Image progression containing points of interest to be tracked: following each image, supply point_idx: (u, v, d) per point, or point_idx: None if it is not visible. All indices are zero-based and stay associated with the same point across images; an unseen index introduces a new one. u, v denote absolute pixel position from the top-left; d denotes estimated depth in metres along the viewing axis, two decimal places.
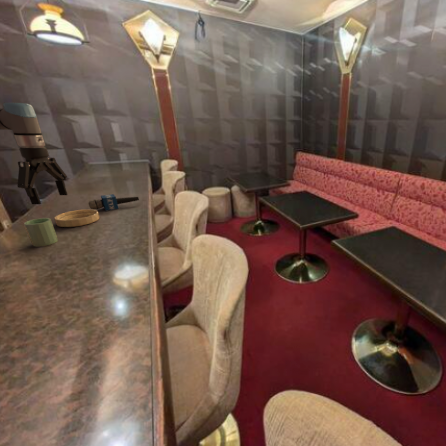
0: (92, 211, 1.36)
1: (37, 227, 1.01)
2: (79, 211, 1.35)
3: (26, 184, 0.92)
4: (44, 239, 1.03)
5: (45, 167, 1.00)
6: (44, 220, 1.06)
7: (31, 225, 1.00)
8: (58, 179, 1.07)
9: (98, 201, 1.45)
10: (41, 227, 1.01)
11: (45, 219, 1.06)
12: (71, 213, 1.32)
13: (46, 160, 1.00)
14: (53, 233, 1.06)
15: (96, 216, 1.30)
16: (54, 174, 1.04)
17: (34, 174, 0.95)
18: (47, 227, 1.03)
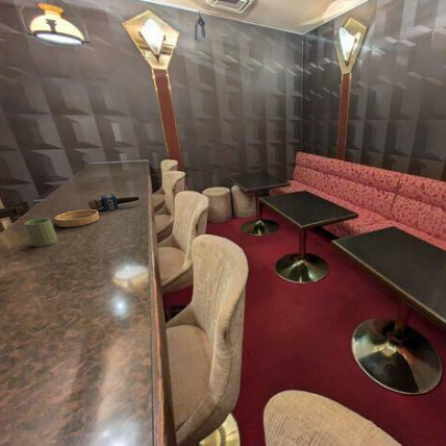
0: (92, 211, 1.36)
1: (37, 227, 1.01)
2: (79, 211, 1.35)
3: None
4: (44, 239, 1.03)
5: None
6: (44, 220, 1.06)
7: (31, 225, 1.00)
8: None
9: (98, 201, 1.45)
10: (41, 227, 1.01)
11: (45, 219, 1.06)
12: (71, 213, 1.32)
13: None
14: (53, 233, 1.06)
15: (96, 216, 1.30)
16: None
17: None
18: (47, 227, 1.03)
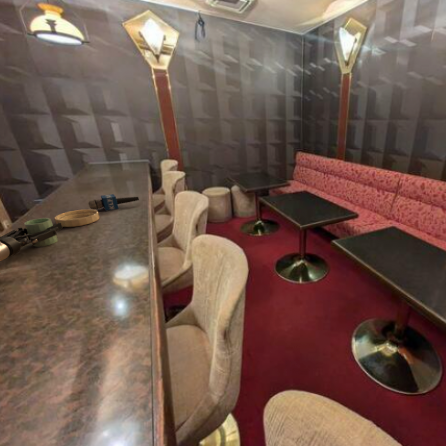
0: (92, 211, 1.36)
1: (37, 227, 1.01)
2: (79, 211, 1.35)
3: None
4: None
5: None
6: (44, 220, 1.06)
7: (31, 225, 1.00)
8: None
9: (98, 201, 1.45)
10: (41, 227, 1.01)
11: (45, 219, 1.06)
12: (71, 213, 1.32)
13: None
14: None
15: (96, 216, 1.30)
16: None
17: None
18: (47, 227, 1.03)
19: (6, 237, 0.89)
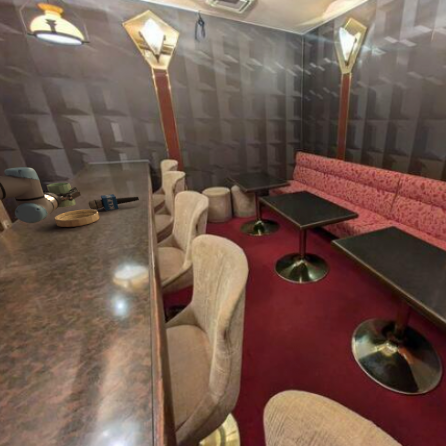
0: (92, 211, 1.36)
1: (62, 188, 1.12)
2: (79, 211, 1.35)
3: None
4: (68, 200, 1.15)
5: None
6: (61, 184, 1.17)
7: (57, 186, 1.11)
8: None
9: (98, 201, 1.45)
10: (65, 188, 1.13)
11: (62, 183, 1.17)
12: (71, 213, 1.32)
13: None
14: None
15: (96, 216, 1.30)
16: None
17: None
18: (69, 189, 1.15)
19: (49, 193, 1.02)
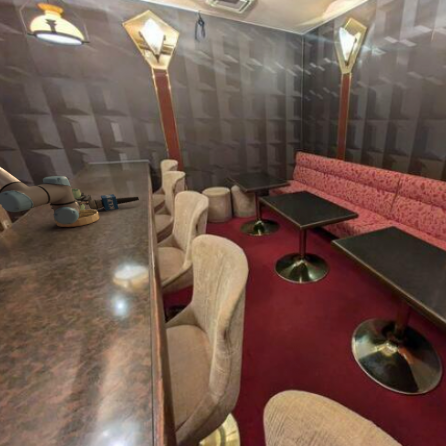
0: (92, 211, 1.36)
1: (75, 194, 1.23)
2: None
3: None
4: None
5: None
6: None
7: None
8: None
9: (98, 201, 1.45)
10: (77, 194, 1.24)
11: None
12: None
13: None
14: None
15: (96, 216, 1.30)
16: None
17: None
18: (80, 194, 1.26)
19: None
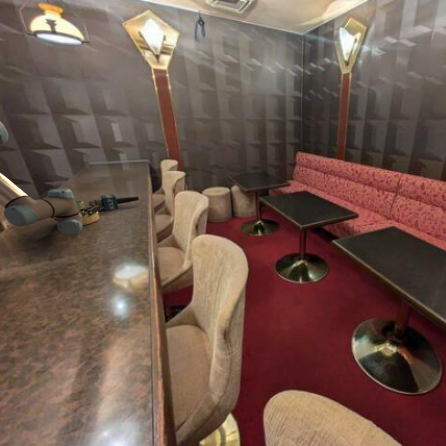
0: None
1: (79, 206, 1.25)
2: None
3: None
4: None
5: None
6: None
7: None
8: None
9: (98, 201, 1.45)
10: (81, 206, 1.26)
11: None
12: None
13: None
14: None
15: (96, 216, 1.30)
16: None
17: None
18: (83, 206, 1.28)
19: None
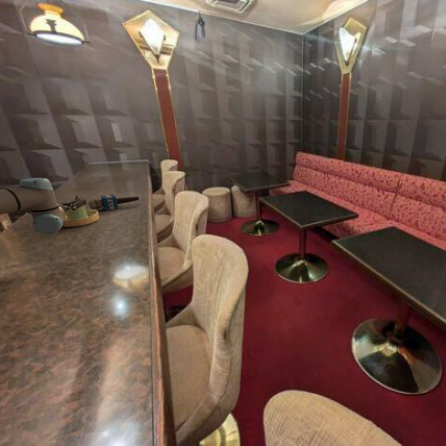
0: (92, 211, 1.36)
1: None
2: None
3: None
4: (83, 216, 1.28)
5: None
6: None
7: None
8: None
9: (98, 201, 1.45)
10: None
11: None
12: None
13: None
14: None
15: (96, 216, 1.30)
16: None
17: None
18: (83, 206, 1.28)
19: None
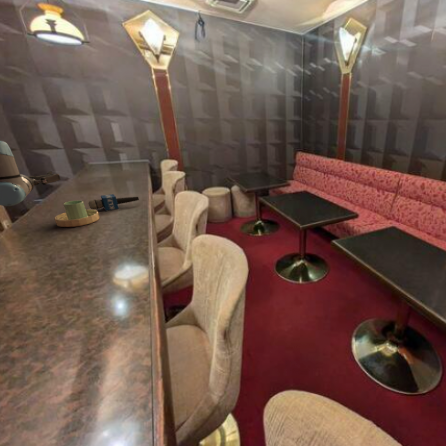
0: (92, 211, 1.36)
1: (79, 206, 1.25)
2: None
3: None
4: (83, 216, 1.28)
5: None
6: (74, 202, 1.29)
7: (74, 204, 1.24)
8: None
9: (98, 201, 1.45)
10: (81, 206, 1.26)
11: (75, 201, 1.29)
12: None
13: None
14: None
15: (96, 216, 1.30)
16: None
17: None
18: (83, 206, 1.28)
19: (20, 174, 0.88)
